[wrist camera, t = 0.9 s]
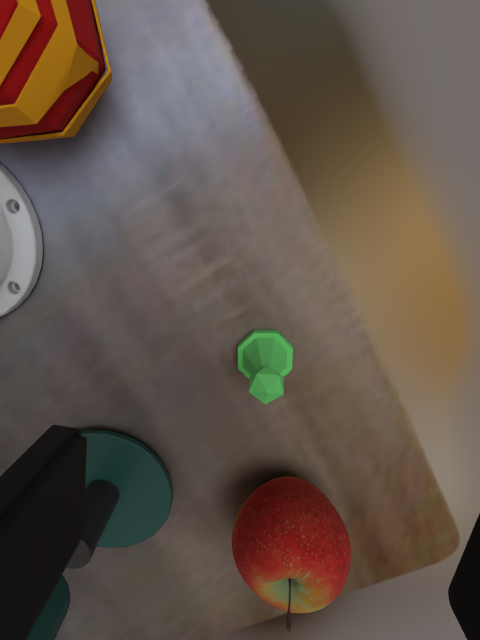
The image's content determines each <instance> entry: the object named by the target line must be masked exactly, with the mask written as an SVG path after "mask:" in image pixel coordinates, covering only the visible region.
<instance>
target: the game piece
mask: <svg viewBox="0 0 480 640" xmlns="http://www.w3.org/2000/svg"><path fill="white" fill-rule="evenodd" d="M292 359H293V347H292V345H291V344H290V343H289V342H288V341H287V340H286V339H285V338H284V337H283V336H282V335H281V334H280V333H279V332H278V331H277V330H253V331H252V332H251V333H250V334H249V335H248V336H247V337H246V338H245V339H244V340H242V341H241V342H240V343H239V344H238V369H239V370H240V371H241V372H242V373H243V374H244V375H245V376H246V377H247V378H248V379H249V392H250V393H251V394H252V395H253V396H255V397H256V398H257V399H258V400H260V401H261V402H262V403H264V404H267V403H269V402H271V401H273V400H275V399H276V398H278V397H280V396H282V395H284V383H283V377H284V376H285V375H287V374H288V373H289V372H290V371H291V370H292Z"/></svg>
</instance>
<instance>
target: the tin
mask: <svg viewBox="0 0 480 640" xmlns="http://www.w3.org/2000/svg"><path fill="white" fill-rule="evenodd" d="M69 603H70V592H69V588H68V585H67V583H66V581H65V579H64V577H63V576H62V575H61V577H60V579H59V581H58V582H57V584H56V586H55V588H54V590H53V591H52V593H51V595H50V597H49V599H48V600H47V602H46V604H45V606H44V608H43V609H42V611H41V613H40V615H39V617H38V618H37V620H36V622H35V624H34V626H33V627H32V629H31V631H30V633H29V634H28V636H27V638H26V640H54V639H55V637H56V635H57V633H58V630H59V628H60V626H61V624H62V622H63V620H64V618H65V616H66V614H67V610H68V607H69Z"/></svg>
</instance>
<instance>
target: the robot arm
mask: <svg viewBox="0 0 480 640" xmlns="http://www.w3.org/2000/svg"><path fill="white" fill-rule="evenodd" d="M18 205H19V207H18ZM42 256H43V244H42V233H41V229H40V225H39V221H38V217H37V214H36V212H35V210H34V208H33V206H32V203H31V201H30V199H29V197H28V196H27V194H26V193H25V191H24V190H23V188H22V187H21V185H20V183H19V182H18V181H17V180H16V179H15V177H14V176H13V175H12V174H11V173H10V172H9V171H8V170H7V169H6V168H5V167H4V166H3V165H2V164H1V163H0V317H2V316H4V315H6V314H8V313H10V312H11V311H13V310H14V309H15V308H17V307H18V306H20V304H21V303H22V302H23V301H24V300H25V299H26V298H27V297H28V296H29V294H30V293H31V291H32V289H33V288H34V286H35V284H36V282H37V279H38V276H39V273H40V270H41V266H42ZM86 455H87V439H86V437H85V436H81V432H80V430H79V429H77V428H71V427H65V426H59V425H53V426H51V427H50V428H49V429H48V430H47V431H46V432H45V433H44V434H43V435H42V436H41V437H40V438H39V439H38V440H37V441H36V442H35V443H34V444H33V445H32V446H31V447H30V448H29V449H28V450H27V451H26V452H25V453H24V454H23V455H22V456H21V457H20V458H19V459H18V460H17V461H16V462H15V463H14V464H13V465H12V466H11V467H10V468H9V469H8V470H7V471H6V472H5V473H4V474H3V475H2V476H0V640H26V638H27V636H28V634H29V633H30V631H31V629H32V627H33V626H34V624H35V622H36V620H37V618H38V617H39V615H40V613H41V611H42V609H43V608H44V606H45V604H46V602H47V600H48V599H49V597H50V595H51V593H52V591H53V590H54V588H55V586H56V584H57V582H58V581H59V579H60V577H61V575H62V573H63V572H64V570H65V568H66V566H67V564H68V563H69V561H70V559H71V557H72V555H73V554H74V552H75V550H76V548H77V546H78V544H79V542H80V540H81V537H82V534H83V529H84V509H85V482H86ZM448 594H449V601H450V605H451V607H452V610H453V612H454V614H455V616H456V618H457V620H458V622H459V624H460V626H461V628H462V630H463V632H464V634H465V636H466V638H467V640H480V514H479V516H478V519H477V521H476V523H475V526H474V528H473V531H472V533H471V536H470V538H469V540H468V543H467V545H466V548H465V550H464V553H463V555H462V557H461V560H460V563H459V565H458V567H457V570H456V572H455V574H454V577H453V579H452V582H451V584H450V586H449V591H448Z"/></svg>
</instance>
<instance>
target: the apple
mask: <svg viewBox="0 0 480 640" xmlns="http://www.w3.org/2000/svg"><path fill="white" fill-rule="evenodd" d="M232 549H233V556H234V559H235V563H236V566H237V568H238V570H239V572H240V574H241V576H242V578H243V579H244V581H245V582H246V584H247V585H248V586H249V587H250V588H251V589H252V590H253V591H254V592H255V593H256V594H257V595H258V596H259V597H260V598H262V599H263V600H264V601H266V602H267V603H269V604H270V605H272V606H274V607H276V608H278V609H281V610H284V611H287V612H288V614H287V622H286V627H287V630H288V631H290V629H291V622H290V612H293V613H307V612H313V611H317V610H319V609H322V608H324V607H325V606H327V605H328V604H330V603H331V602H332V601H333V600H334V599H335V598H336V597H337V596H338V594H339V593H340V591H341V589H342V588H343V586H344V584H345V582H346V579H347V576H348V572H349V569H350V561H351V546H350V541H349V535H348V532H347V530H346V527H345V525H344V523H343V521H342V519H341V517H340V515H339V514H338V512H337V510H336V509H335V507H334V506H333V505H332V503H331V502H330V501H329V499H328V498H327V497H326V496H325V495H324V494H323V493H322V492H321V491H320V490H319V489H318V488H316V487H315V486H314V485H312V484H311V483H309V482H307V481H305V480H303V479H301V478H298V477H292V476H283V477H278V478H275V479H272V480H270V481H268V482H266V483H264V484H263V485H261V486H260V487H258V488H257V489H256V490H255V491H254V492H253V493H251V494H250V495H249V497H248V498H247V499H246V500H245V502H244V503H243V504H242V506H241V508H240V510H239V512H238V514H237V516H236V519H235V522H234V526H233V532H232Z"/></svg>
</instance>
